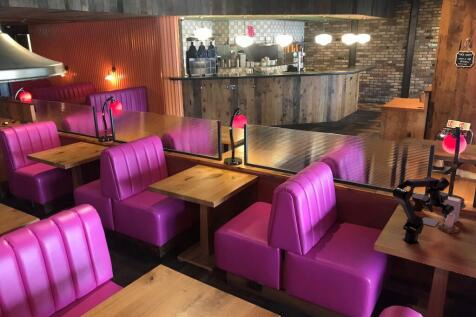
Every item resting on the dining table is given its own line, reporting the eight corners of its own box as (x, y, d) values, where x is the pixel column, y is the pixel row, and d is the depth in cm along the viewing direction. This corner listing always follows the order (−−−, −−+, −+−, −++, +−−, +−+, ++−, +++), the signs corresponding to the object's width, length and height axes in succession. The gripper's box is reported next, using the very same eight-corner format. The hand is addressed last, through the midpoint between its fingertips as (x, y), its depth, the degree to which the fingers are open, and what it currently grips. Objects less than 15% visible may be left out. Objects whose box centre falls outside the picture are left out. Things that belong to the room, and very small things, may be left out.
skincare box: (458, 220, 259) (462, 199, 254) (455, 223, 255) (459, 201, 250) (444, 216, 264) (448, 195, 260) (441, 219, 260) (445, 198, 256)
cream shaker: (447, 231, 243) (450, 216, 240) (442, 228, 247) (444, 213, 244) (453, 230, 244) (456, 215, 241) (447, 227, 248) (450, 212, 245)
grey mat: (434, 227, 249) (434, 226, 248) (419, 222, 254) (419, 222, 254) (439, 221, 257) (439, 220, 256) (424, 217, 262) (424, 216, 262)
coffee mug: (409, 206, 279) (411, 193, 276) (422, 208, 277) (424, 194, 275) (412, 213, 268) (414, 199, 265) (426, 214, 266) (428, 201, 264)
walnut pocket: (448, 233, 241) (448, 230, 240) (437, 227, 248) (438, 224, 247) (458, 231, 243) (459, 228, 242) (447, 226, 250) (448, 222, 250)
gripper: (458, 193, 225) (462, 213, 232) (430, 182, 241) (433, 201, 248) (446, 204, 222) (449, 224, 229) (417, 193, 238) (422, 212, 245)
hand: (438, 215), depth 238 cm, fingers open, 9 cm apart
